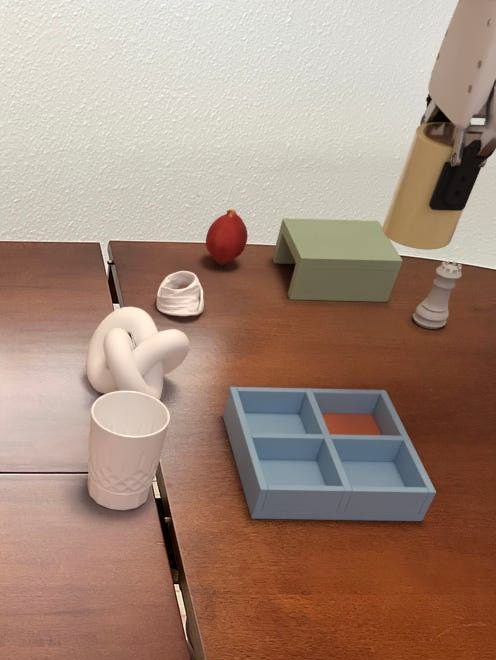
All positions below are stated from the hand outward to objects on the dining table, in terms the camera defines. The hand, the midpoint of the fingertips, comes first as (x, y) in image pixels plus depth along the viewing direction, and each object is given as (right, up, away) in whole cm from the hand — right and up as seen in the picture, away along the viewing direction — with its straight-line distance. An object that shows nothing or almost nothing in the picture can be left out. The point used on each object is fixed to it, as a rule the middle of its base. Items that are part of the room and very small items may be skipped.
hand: (433, 190), depth 84 cm
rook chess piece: (+17, +1, +38) cm, 41 cm away
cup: (0, -3, +3) cm, 4 cm away
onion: (-10, +13, +46) cm, 49 cm away
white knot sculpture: (-26, -13, +24) cm, 38 cm away
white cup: (-29, -27, +12) cm, 41 cm away
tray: (-6, -23, +16) cm, 29 cm away
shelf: (+6, +9, +44) cm, 45 cm away
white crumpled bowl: (-17, +3, +38) cm, 42 cm away
